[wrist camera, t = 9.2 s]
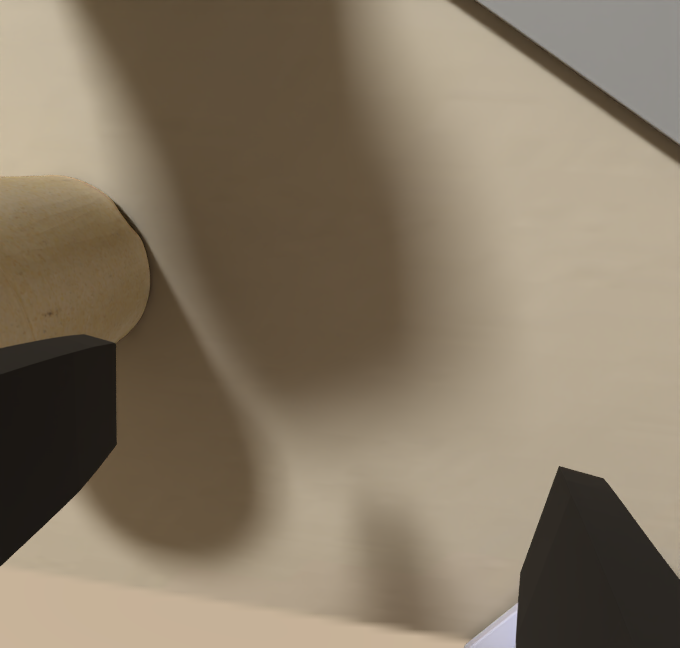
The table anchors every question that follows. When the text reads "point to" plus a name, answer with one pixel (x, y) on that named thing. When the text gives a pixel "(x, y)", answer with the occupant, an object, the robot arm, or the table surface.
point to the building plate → (611, 48)
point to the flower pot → (67, 262)
